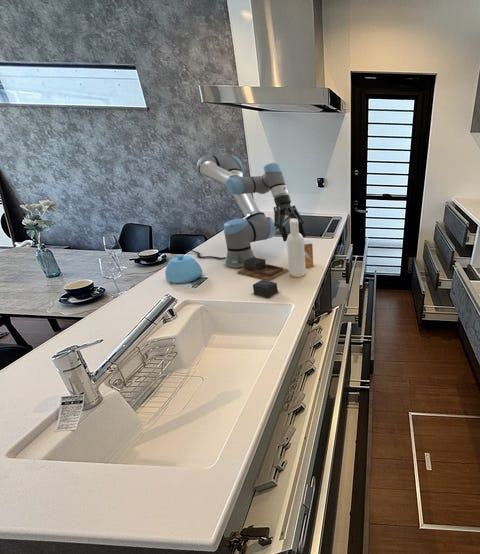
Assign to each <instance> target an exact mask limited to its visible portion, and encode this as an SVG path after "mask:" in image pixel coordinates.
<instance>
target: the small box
mask: <svg viewBox="0 0 480 554" xmlns="http://www.w3.org/2000/svg"><path fill="white" fill-rule="evenodd" d="M304 251H305V267H306V268H311V267H314V249H313V242H311V241H309V240H304Z"/></svg>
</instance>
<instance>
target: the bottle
mask: <svg viewBox="0 0 480 554" xmlns="http://www.w3.org/2000/svg"><path fill="white" fill-rule="evenodd" d="M298 224H299V223H298V220H297V219H295V218H293V219H292V218H290V219H289V231H290V233H288V234H287V235H288V237H287V241H286V249H287V258H288V259H287V260H288V272H289V274H290V275H291V276H292V277H295V278H300V277H303V276H304V275H305V274H306V273H307V272H306V271H307V270H306V268H307V267H305V251H304V241H305V238H304V237H303V236H302V235H301V234H300V233H299V228H298Z"/></svg>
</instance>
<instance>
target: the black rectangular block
mask: <svg viewBox="0 0 480 554" xmlns="http://www.w3.org/2000/svg"><path fill="white" fill-rule="evenodd" d="M252 289H253V290H252V291H253V295H257V296H259V297H263V298H268V299H269V298H271V297H272V296H274V295H276V294H278V292H279V291H278V283H277V282H274V281H271V280H269V281H268V280H264V279H260V280H258V281H257V282H255V283H253V284H252Z"/></svg>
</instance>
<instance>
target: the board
mask: <svg viewBox="0 0 480 554" xmlns="http://www.w3.org/2000/svg"><path fill="white" fill-rule="evenodd" d="M266 261H267V260H266V259H264V258H260V257H256V256H255V257H253V258H250V259H248V260H245V261H243V262H244V268H241V269H240V270H237V274H240V275H243V276H244V275H245V276H248V277H252V278H257V279H260V280H266V281H272V280H273V279H275V278H277V277H279V276H281V275H283V274H285V273H287V272H289V268H284V267H283V266H278V265H273V264H270V263H269V264H268V263H267V262H266Z"/></svg>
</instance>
